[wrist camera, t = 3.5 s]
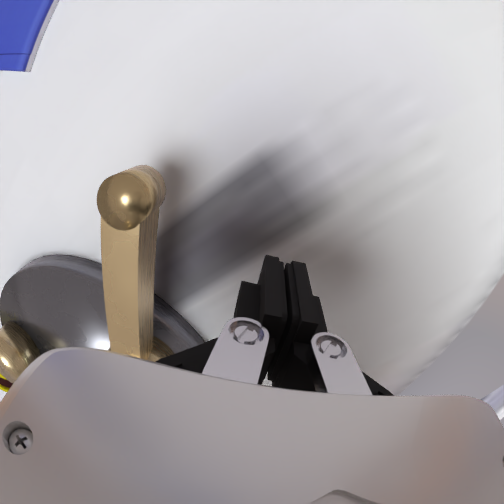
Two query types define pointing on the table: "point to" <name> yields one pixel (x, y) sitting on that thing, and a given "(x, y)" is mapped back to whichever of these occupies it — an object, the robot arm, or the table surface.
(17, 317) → the base
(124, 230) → the tan knobbed bar
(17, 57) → the hard drive
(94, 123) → the table surface
